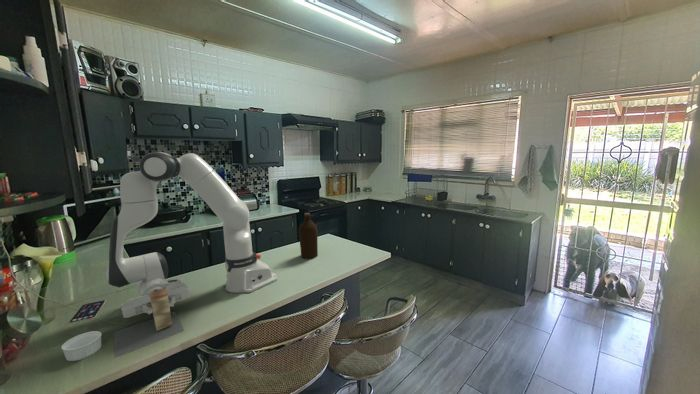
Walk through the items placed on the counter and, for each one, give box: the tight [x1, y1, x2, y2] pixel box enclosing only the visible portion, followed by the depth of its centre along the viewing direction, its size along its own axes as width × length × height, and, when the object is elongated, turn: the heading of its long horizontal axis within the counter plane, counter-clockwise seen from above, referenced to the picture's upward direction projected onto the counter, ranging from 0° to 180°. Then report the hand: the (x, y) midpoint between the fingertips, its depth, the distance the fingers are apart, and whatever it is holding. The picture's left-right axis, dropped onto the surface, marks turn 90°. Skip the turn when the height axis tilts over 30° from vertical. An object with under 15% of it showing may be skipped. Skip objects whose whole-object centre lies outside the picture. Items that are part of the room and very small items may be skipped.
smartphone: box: [68, 299, 107, 324], centre depth 109 cm, size 8×1×15 cm
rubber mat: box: [113, 311, 185, 358], centre depth 94 cm, size 18×16×1 cm
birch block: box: [150, 288, 172, 331], centre depth 96 cm, size 4×4×12 cm
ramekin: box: [61, 330, 102, 362], centre depth 85 cm, size 9×9×4 cm
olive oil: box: [298, 212, 319, 260], centre depth 158 cm, size 11×11×25 cm
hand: (161, 308), depth 95 cm, fingers closed on birch block, 4 cm apart
